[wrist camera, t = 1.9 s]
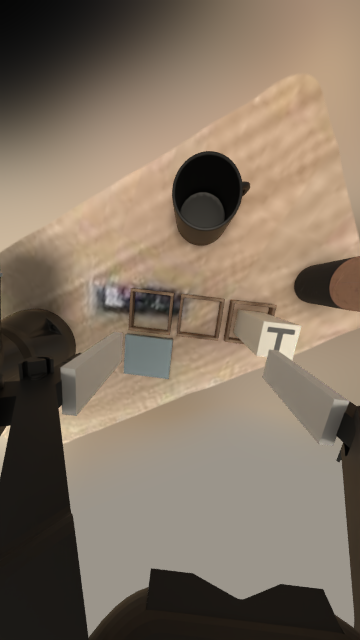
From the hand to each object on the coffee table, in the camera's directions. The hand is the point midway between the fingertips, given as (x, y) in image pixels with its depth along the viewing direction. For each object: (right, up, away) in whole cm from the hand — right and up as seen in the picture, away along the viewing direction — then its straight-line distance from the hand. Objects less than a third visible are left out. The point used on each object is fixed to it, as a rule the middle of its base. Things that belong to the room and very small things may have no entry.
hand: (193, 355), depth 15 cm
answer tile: (-8, -5, +22) cm, 24 cm away
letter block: (+13, +3, +20) cm, 24 cm away
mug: (+4, +22, +16) cm, 28 cm away
